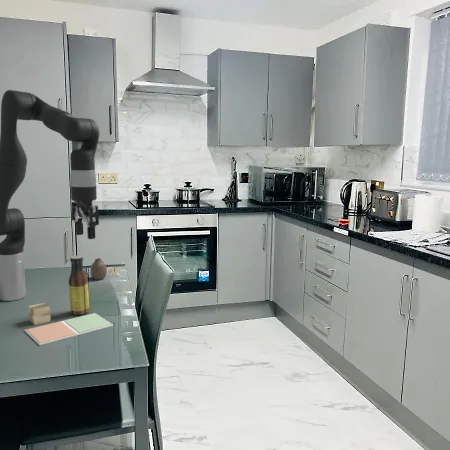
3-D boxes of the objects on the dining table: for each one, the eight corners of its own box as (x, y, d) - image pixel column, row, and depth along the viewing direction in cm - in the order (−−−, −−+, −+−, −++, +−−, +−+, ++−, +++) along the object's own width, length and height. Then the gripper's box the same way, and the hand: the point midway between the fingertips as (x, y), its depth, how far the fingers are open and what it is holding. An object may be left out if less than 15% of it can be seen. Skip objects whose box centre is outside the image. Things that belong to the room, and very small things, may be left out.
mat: (24, 331, 137) (24, 329, 137) (95, 314, 152) (95, 312, 152) (39, 345, 128) (39, 343, 127) (113, 326, 143) (113, 324, 143)
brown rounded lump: (90, 276, 195) (89, 257, 193) (106, 275, 197) (106, 256, 195) (90, 281, 188) (90, 261, 187) (107, 280, 190) (107, 260, 189)
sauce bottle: (82, 308, 158) (81, 253, 154) (93, 312, 154) (91, 256, 150) (66, 312, 153) (63, 256, 149) (76, 317, 149) (74, 259, 145)
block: (29, 320, 146) (28, 306, 145) (44, 317, 149) (44, 302, 148) (34, 325, 142) (34, 310, 141) (50, 321, 145) (49, 306, 144)
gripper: (105, 186, 134) (107, 238, 137) (85, 182, 144) (86, 232, 147) (81, 187, 129) (83, 242, 132) (62, 183, 139) (64, 234, 142)
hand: (85, 236), depth 139 cm, fingers open, 8 cm apart
